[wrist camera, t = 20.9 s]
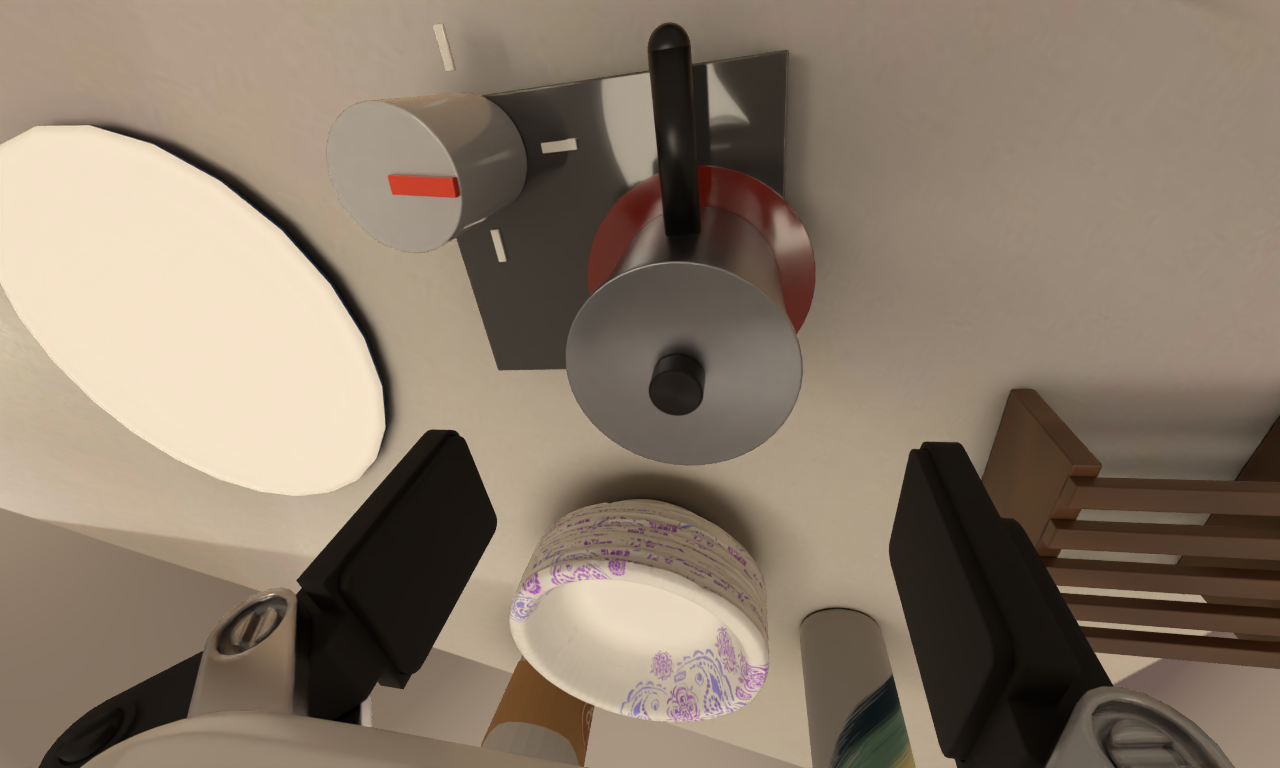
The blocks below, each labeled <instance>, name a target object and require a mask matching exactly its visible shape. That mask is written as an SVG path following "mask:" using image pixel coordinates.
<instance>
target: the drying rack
mask: <svg viewBox="0 0 1280 768" xmlns="http://www.w3.org/2000/svg"><path fill="white" fill-rule="evenodd" d="M1101 468H1102V464H1101V463H1100V462H1099V461H1098V460H1097V459H1096V457H1095V456H1094V455H1093V454H1092V453H1091V452H1090V451H1089V450H1088V449H1087V448H1086V446H1085V445H1084V444H1083V443H1082V442H1081V441H1080V440H1079V439H1078V438H1077V436H1076V435H1075V434H1074V433H1073V432H1072V431H1071V430H1070V429H1069V428H1068V426H1067V425H1066V424H1065V423H1064V422H1063V421H1062V420H1061V419H1060V418H1059V416H1058V415H1057V414H1056V413H1055V412H1054V411H1053V410H1052V409H1051V408H1050V407H1049V405H1048V404H1047V403H1046V402H1045V401H1044V400H1043V399H1042V398H1041V397H1040V395H1039V394H1038V393H1037V392H1036V391H1035V390H1012V391H1011V394H1010V397H1009V400H1008V403H1007V406H1006V409H1005V412H1004V415H1003V419H1002V422H1001V425H1000V428H999V431H998V434H997V437H996V440H995V443H994V446H993V449H992V452H991V455H990V458H989V461H988V464H987V467H986V470H985V473H984V476H983V479H982V483H983V485H984V487H985V489H986V490H987V492H988V494H989V496H990V498H991V500H992V502H993V504H994V506H995V507H996V509H997V511H998V513H999V515H1000V517H1001V518H1013V519H1015V520H1016V521H1017V522H1019V523H1020V524H1021V526H1022V527H1023V529H1024V530H1025V531H1026V533H1027V535H1028V537H1029V539H1030V540H1031V542H1032V544H1033V546H1034V547H1035V549H1036V551H1037V553H1038V554H1039V556H1040V558H1041V560H1042V561H1043V563H1044V565H1045V567H1046V568H1047V570H1048V572H1049V574H1050V575H1051V577H1052V579H1053V581H1054V582H1055V584H1056V585H1058V586H1073V587H1088V588H1103V589H1118V590H1133V591H1148V592H1163V593H1178V594H1193V595H1201V596H1202V597H1203V598H1204V600H1205V601H1206V602H1207V603H1198V602H1183V601H1169V600H1155V599H1140V598H1126V597H1111V596H1097V595H1083V594H1068V593H1061V595H1062V597H1063V598H1064V600H1065V602H1066V604H1067V605H1068V607H1069V609H1070V611H1071V612H1072V614H1073V616H1074V618H1075V619H1076V620H1080V621H1093V622H1106V623H1118V624H1131V625H1144V626H1156V627H1169V628H1181V629H1194V630H1207V631H1219V632H1232V633H1234V634H1235V635H1236V637H1237V638H1238V639H1232V638H1220V637H1208V636H1195V635H1183V634H1171V633H1158V632H1146V631H1134V630H1122V629H1109V628H1097V627H1085V626H1080V628H1081V630H1082V632H1083V633H1084V635H1085V637H1086V639H1087V640H1088V642H1089V644H1090V646H1091V648H1092V649H1093V651H1094V652H1098V653H1109V654H1120V655H1131V656H1142V657H1153V658H1164V659H1176V660H1186V661H1198V662H1208V663H1209V662H1210V663H1219V664H1231V665H1241V666H1253V667H1265V668H1275V669H1280V418H1279V419H1278V420H1277V422H1276V423H1275V425H1274V426H1273V428H1272V429H1271V430H1270V432H1269V433H1268V435H1267V436H1266V438H1265V439H1264V441H1263V442H1262V443H1261V445H1260V446H1259V448H1258V449H1257V451H1256V452H1255V454H1254V455H1253V456H1252V458H1251V459H1250V461H1249V462H1248V464H1247V465H1246V467H1245V468H1244V469H1243V471H1242V472H1241V474H1240V475H1239V477H1238V478H1237V479H1236V481H1214V480H1176V479H1137V478H1099V477H1097V476H1098V474H1099V472H1100V470H1101ZM1081 509H1102V510H1129V511H1155V512H1182V513H1208V514H1212V516H1211V517H1210V518H1209V520H1208V521H1207V523H1206V524H1205V526H1201V525H1177V524H1153V523H1129V522H1106V521H1082V520H1076V518H1077V516H1078V514H1079V512H1080V510H1081ZM1061 549H1074V550H1093V551H1111V552H1130V553H1149V554H1168V555H1184V556H1183V557H1182V559H1181V560H1180V562H1179V563H1178V565H1173V564H1155V563H1137V562H1120V561H1102V560H1084V559H1067V558H1057V557H1058V555H1059V553H1060V551H1061Z"/></svg>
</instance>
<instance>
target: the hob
mask: <svg viewBox="0 0 1280 768" xmlns="http://www.w3.org/2000/svg"><path fill="white" fill-rule="evenodd" d="M433 28H434V31H435V35H436V38H437V42H438V45H439V49H440V53H441V56H442V60H443V63H444V67H445V71H454V70H456V67H455V64H454V60H453V56H452V53H451V49H450V45H449V42H448V38H447V34H446V30H445V27H444V24H443V23H440V24H435V25H433ZM788 62H789V51H788V50H783V51H777V52H770V53H763V54H757V55H750V56H743V57H737V58H730V59H723V60H716V61H710V62H703V63H696V64H692V77H693V95H694V112H695V130H696V148H697V165H698V166H715V167H723V168H727V169H731V170H735V171H739V172H741V173H744V174H746V175H749V176H751V177H754V178H756V179H757V180H759V181H761V182H762V183H764V184H766V185H767V186H769V187H770V188H771V189H773V190H774V191H775V192H776V193H778V194H779V195H780V196H781V197H782V198H783V199H784V193H785V160H786V127H787V95H788ZM482 97H485V98H487V99H488V100H490V101H492V102H493V103H495V104H496V105H497V106H499V107H500V108H501V109H502V110H503V111H504V112H505V113H506V114H507V115H508V117H509V118H510V119H511V120H512V122H513V123H514V125H515V126H516V128H517V130H518V132H519V134H520V136H521V139H522V141H523V144H524V148H525V152H526V158H527V174H526V179H525V183H524V186H523V189H522V191H521V193H520V194H519V196H518V197H517V199H516V200H515V201H514V202H513V203H512V204H511V205H509V206H508V207H507V208H505V209H503V210H502V211H500V212H498V213H497V214H495V215H493V216H491V217H490V218H488V219H486V220H485V221H483V222H481V223H480V224H478V225H476V226H475V227H473V228H471V229H470V230H468V231H466V232H465V233H463V234H461V235H460V236H458V237H456V239H457V242H458V245H459V248H460V251H461V254H462V257H463V260H464V264H465V267H466V270H467V273H468V276H469V279H470V282H471V286H472V289H473V292H474V295H475V298H476V301H477V304H478V308H479V311H480V314H481V317H482V320H483V323H484V326H485V330H486V333H487V336H488V339H489V342H490V345H491V348H492V352H493V355H494V358H495V361H496V364H497V367H498V370H545V369H567V368H566V346H567V339H568V335H569V332H570V329H571V325H572V323H573V321H574V319H575V317H576V315H577V313H578V312H579V310H580V309H581V307H582V306H583V304H584V303H585V301H586V300H587V298H588V297H589V296H590V294H589V286H588V262H589V255H590V250H591V247H592V243H593V240H594V237H595V235H596V233H597V230H598V228H599V226H600V224H601V223H602V221H603V219H604V218H605V216H606V215H607V213H608V212H609V210H610V209H611V208H612V207H613V206H614V204H615V203H616V202H617V201H618V200H619V199H620V198H621V197H622V196H623V195H625V194H626V193H627V192H628V191H629V190H630V189H632V188H633V187H635V186H636V185H638V184H639V183H641V182H642V181H644V180H646V179H648V178H650V177H652V176H654V175H656V174H659V166H658V156H657V145H656V135H655V124H654V114H653V103H652V93H651V82H650V72H649V71H643V72H636V73H629V74H623V75H616V76H609V77H602V78H596V79H589V80H582V81H576V82H569V83H562V84H556V85H549V86H542V87H535V88H529V89H522V90H515V91H509V92H502V93H495V94H489V95H482Z"/></svg>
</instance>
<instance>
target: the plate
mask: <svg viewBox="0 0 1280 768" xmlns="http://www.w3.org/2000/svg"><path fill="white" fill-rule="evenodd" d="M0 284H1V286H2V288H3V290H4V291H5V293H6V295H7V297H8V299H9V300H10V302H11V304H12V306H13V308H14V309H15V311H16V313H17V315H18V317H19V318H20V319H21V321H22V322H23V323H24V325H25V326H26V327H27V328H28V330H29V331H30V332H31V334H32V335H33V336H34V337H35V339H36V340H37V341H38V343H39V344H40V345H41V346H42V348H43V349H44V350H45V352H46V353H47V354H48V355H49V357H50V358H51V359H52V361H53V362H54V363H55V364H56V365H57V366H58V367H59V368H60V369H61V370H62V371H63V372H64V373H65V374H66V375H67V376H68V377H69V378H70V379H71V380H72V381H73V382H74V383H75V384H76V385H77V386H78V387H79V388H80V389H81V390H82V391H83V392H84V393H85V394H86V395H87V396H88V397H89V398H90V399H91V400H93V401H94V402H95V403H96V404H98V405H99V406H100V407H101V408H103V409H104V410H105V411H106V412H108V413H109V414H110V415H112V416H113V417H114V418H115V419H117V420H118V421H119V422H120V423H122V424H123V425H124V426H125V427H127V428H128V429H129V430H131V431H132V432H133V433H134V434H136V435H138V436H139V437H141V438H143V439H144V440H146V441H147V442H149V443H151V444H152V445H154V446H155V447H157V448H159V449H160V450H162V451H163V452H165V453H167V454H168V455H170V456H171V457H173V458H175V459H176V460H178V461H181V462H183V463H185V464H187V465H189V466H191V467H193V468H196V469H198V470H200V471H202V472H204V473H206V474H208V475H211V476H213V477H215V478H217V479H220V480H223V481H226V482H229V483H233V484H236V485H239V486H243V487H246V488H249V489H252V490H256V491H260V492H268V493H276V494H284V495H292V496H302V495H311V494H320V493H329V492H333V491H335V490H337V489H339V488H341V487H343V486H346V485H348V484H350V483H352V482H354V481H356V480H358V479H359V478H360V477H361V476H362V474H363V473H364V472H365V471H366V470H367V469H368V468H369V466H370V465H371V464H372V463H373V462H374V461H375V460H376V458H377V457H378V455H379V452H380V448H381V445H382V441H383V438H384V434H385V431H386V427H387V418H386V406H385V394H384V384H383V382H382V379H381V376H380V373H379V371H378V368H377V365H376V363H375V360H374V357H373V354H372V352H371V349H370V346H369V344H368V341H367V338H366V336H365V334H364V333H363V331H362V329H361V328H360V326H359V325H358V323H357V322H356V320H355V318H354V317H353V315H352V314H351V312H350V310H349V309H348V307H347V306H346V304H345V302H344V301H343V299H342V298H341V296H340V294H339V293H338V291H337V290H336V288H335V286H334V285H333V283H332V282H331V281H330V280H329V279H328V278H327V276H326V275H325V274H324V273H323V272H322V271H321V270H320V269H319V268H318V266H317V265H316V264H315V263H314V262H313V261H312V260H311V259H310V258H309V256H308V255H307V254H306V253H305V252H304V251H303V250H302V249H301V248H300V246H299V245H298V244H297V243H296V242H295V241H294V240H293V239H292V238H291V236H290V235H289V234H288V233H287V232H286V231H285V230H284V229H283V228H282V227H281V226H279V225H278V224H277V223H276V222H274V221H273V220H272V219H271V218H269V217H268V216H267V215H266V214H264V213H263V212H262V211H261V210H259V209H258V208H257V207H256V206H255V205H253V204H252V203H251V202H250V201H248V200H247V199H246V198H245V197H243V196H242V195H241V194H240V193H238V192H237V191H236V190H235V189H233V188H232V187H231V186H230V185H228V184H227V183H226V182H225V181H223V180H222V179H220V178H218V177H216V176H214V175H212V174H211V173H209V172H207V171H205V170H203V169H201V168H200V167H198V166H196V165H194V164H192V163H191V162H189V161H187V160H185V159H183V158H181V157H180V156H178V155H176V154H174V153H172V152H171V151H169V150H167V149H165V148H163V147H161V146H160V145H158V144H155V143H152V142H148V141H145V140H141V139H138V138H135V137H131V136H128V135H125V134H121V133H118V132H114V131H111V130H108V129H104V128H101V127H98V126H94V125H79V126H35V127H33V128H31V129H29V130H28V131H26V132H24V133H22V134H20V135H18V136H16V137H14V138H12V139H10V140H8V141H6V142H5V143H3V144H1V145H0Z"/></svg>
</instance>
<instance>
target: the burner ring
mask: <svg viewBox="0 0 1280 768" xmlns="http://www.w3.org/2000/svg"><path fill="white" fill-rule="evenodd" d="M698 183H699V201H700V206H706V207H714V208H718V209H722V210H726V211H729V212H731V213H733V214H736V215H738V216H739V217H741V218H743V219H745V220H746V221H748V222H749V223H750V224H751V225H753V226H754V227H755V228H756V229H757V230H758V231H759V232H760V233H761V234H762V235H763V236H764V238H765V239H766V241H767V242H768V243H769V245H770V247H771V249H772V251H773V253H774V255H775V258H776V261H777V263H778V268H779V273H780V279H781V285H782V290H783V296H784V302H785V307H786V313H787V315H788V317H789V319H790V321H791V322H792V324H793V326H794V329H795V332H796V334H797V333H798V331H799V329H800V328H801V326H802V324H803V323H804V321H805V318H806V316H807V314H808V312H809V309H810V306H811V302H812V299H813V294H814V287H815V262H814V255H813V250H812V247H811V243H810V240H809V237H808V235H807V233H806V230H805V228H804V226H803V224H802V222H801V221H800V219H799V218H798V216H797V215H796V213H795V212H794V210H793V209H792V208H791V207H790V205H789V204H788V203H787V202H786V201H785V200H784V199H783V198H782V197H781V196H780V195H779V194H778V193H776V192H775V191H774V190H773V189H771V188H770V187H769V186H767V185H766V184H764V183H762V182H761V181H759V180H757V179H756V178H754V177H751V176H749V175H746V174H744V173H741V172H739V171H735V170H731V169H727V168H723V167H715V166H698ZM661 215H663V208H662V198H661V187H660V177H659V174H656V175H654V176H652V177H650V178H648V179H646V180H644V181H642V182H641V183H639V184H638V185H636V186H635V187H633V188H632V189H630V190H629V191H628V192H627V193H626V194H625V195H623V196H622V197H621V198H620V199H619V200H618V201H617V202H616V203H615V204H614V206H613V207H612V208H611V209H610V210H609V212H608V213H607V215H606V216H605V218H604V219H603V221H602V223H601V224H600V226H599V228H598V230H597V233H596V235H595V237H594V240H593V243H592V247H591V250H590V255H589V262H588V286H589V294H590V295H591V294H592V293H593V292H594V290H595V289H596V288H597V287H598V286H600V285H601V284H602V283H603V282H605V281H606V280H607V279H608V277H609V276H610V274H611V273H612V271H613V269H614V268H615V266H616V265H617V263H618V262H619V260H620V258H621V257H622V255H623V254H624V252H625V251H626V249H627V247H628V246H629V244H630V243H631V241H632V240H633V239H634V237H635V236H636V235H637V234H638V233H639V231H640V230H641V229H642V228H643V227H645V226H646V225H647V224H648V223H649V222H651V221H652V220H654V219H656V218H657V217H659V216H661Z"/></svg>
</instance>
